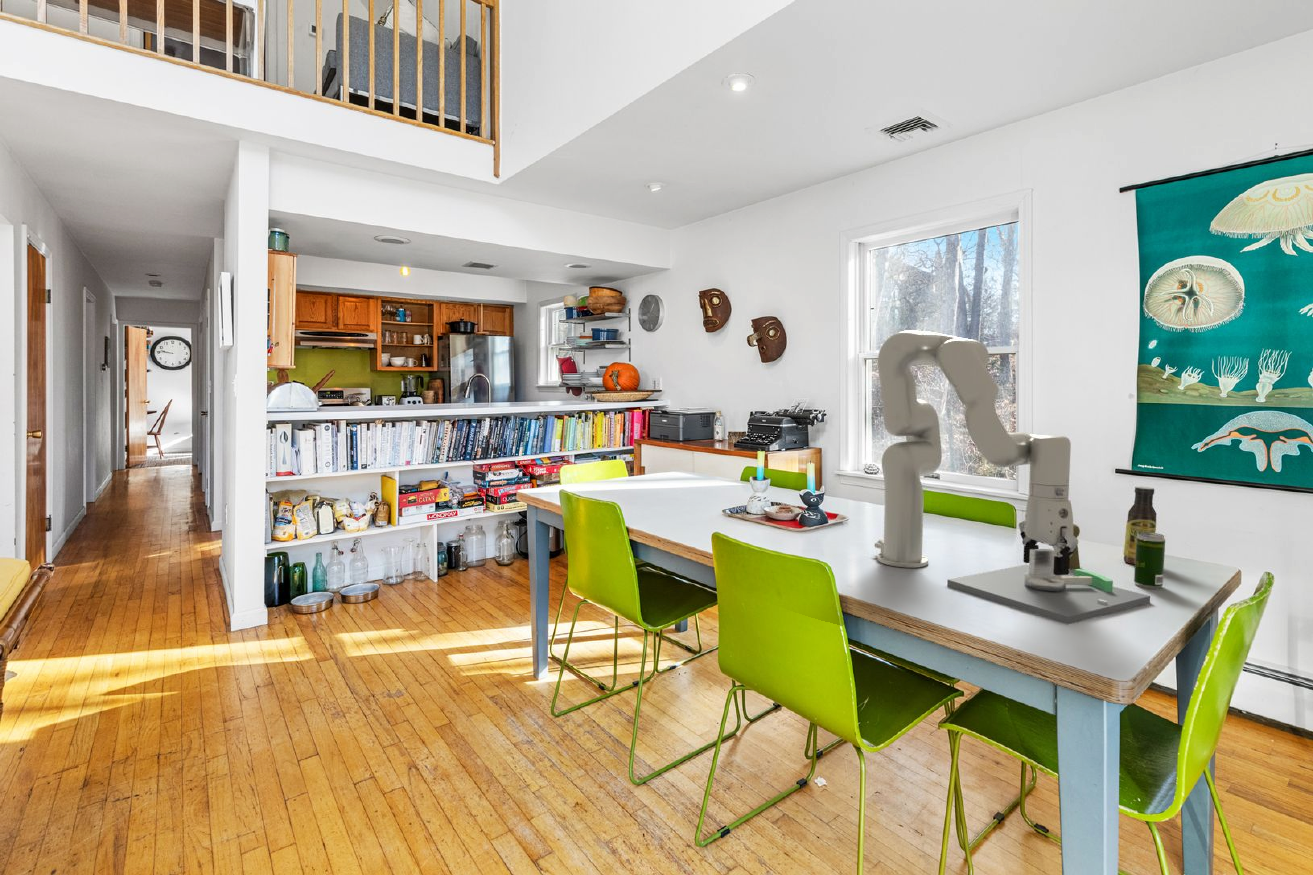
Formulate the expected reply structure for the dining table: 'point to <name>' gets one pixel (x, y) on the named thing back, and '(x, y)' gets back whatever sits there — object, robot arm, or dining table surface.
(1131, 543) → the sauce bottle
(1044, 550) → the knob
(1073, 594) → the dial board
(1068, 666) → the dining table surface
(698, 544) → the dining table surface
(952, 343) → the robot arm
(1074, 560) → the cork
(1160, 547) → the beer can
